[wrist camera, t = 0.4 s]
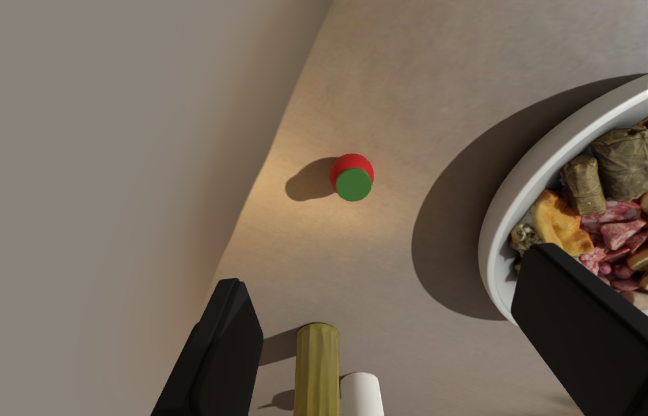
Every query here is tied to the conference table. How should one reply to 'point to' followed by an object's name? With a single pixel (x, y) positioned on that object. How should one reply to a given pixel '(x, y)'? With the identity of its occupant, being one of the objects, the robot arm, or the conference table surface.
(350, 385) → the candle
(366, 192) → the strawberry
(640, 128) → the bowl
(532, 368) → the conference table surface
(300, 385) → the vase
